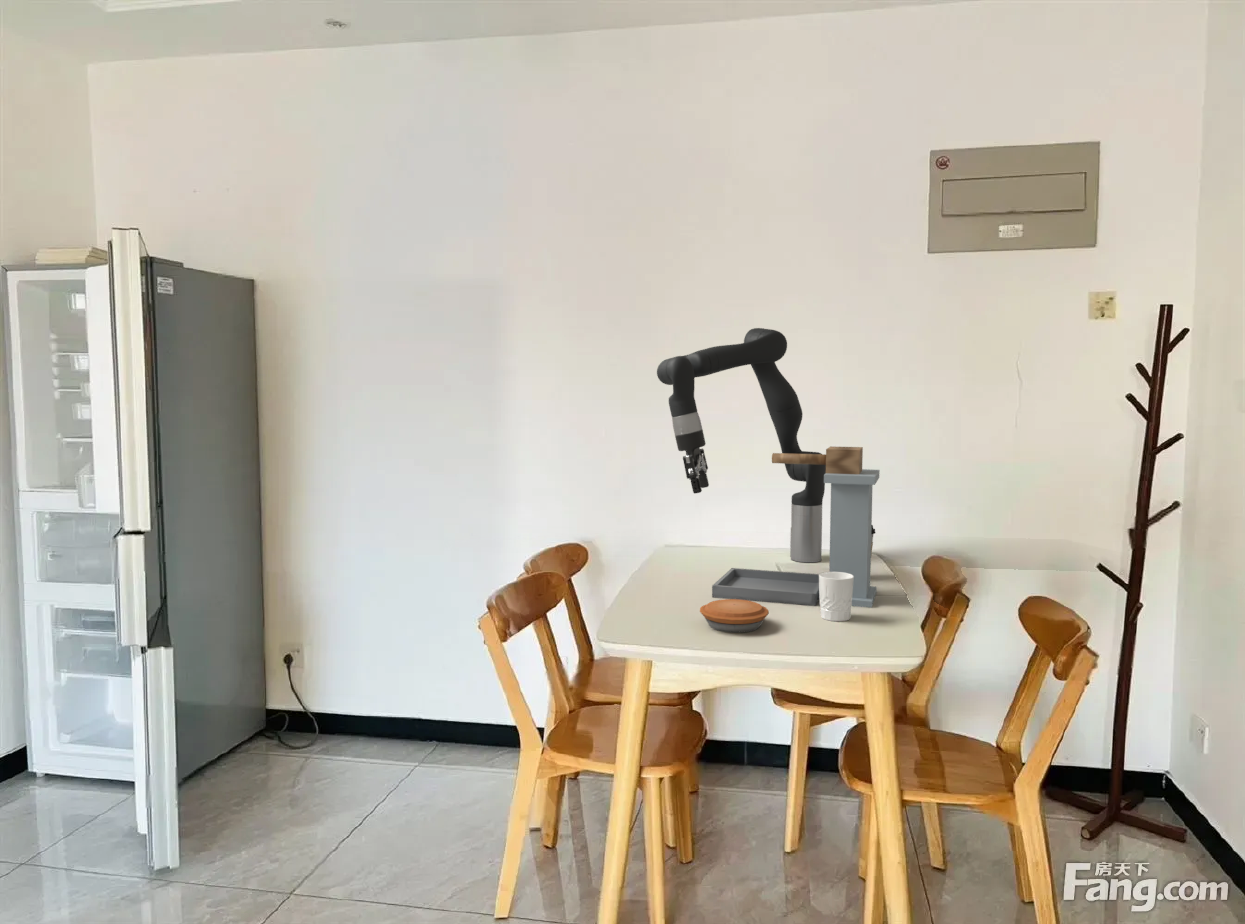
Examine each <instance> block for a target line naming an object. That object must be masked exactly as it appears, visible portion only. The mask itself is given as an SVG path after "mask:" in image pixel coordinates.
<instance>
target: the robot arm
mask: <svg viewBox="0 0 1245 924" xmlns="http://www.w3.org/2000/svg"><path fill="white" fill-rule="evenodd" d="M787 349H788V340H787V338H786V336H785V335H784V334H783V333H782V332H780V331H778V330H776V329H770V328H762V327H753V328H751V329H749V330H748V331H747V333H746V334H745V336H744V339H743V342H742V343H735V344H725V345H724V344H723V345H716V346H711V347H707V348H704V349H700V350H697V351H694V352H691V353H688V354H686V355H677V356H673V357H670V358H667V359H664V360H663V361H661V362H660V363H659V364H658V366H657V369H656V376H657V378H658V381H660V382H661V383H662V384H664V385H666V386H667V385H668V386H672V391H673V392H672V394H671V395H670V396H669V397H668V406H669V411H670V415H671V418H672V420H671V421H672V428H673V433H674V438H675V442H676V446H677V450H678V451H679V452H685V455H683V456H682V460H683V466H684V471H685V476H686V479H687V480H688V479H689V480H690V483H691V489H692V493H693V494H700V493H701V492H702V491H703V490H702V489H704V488H708V487H709V485H710V484H709V479H708V475H707V473H708V469H709V466H708V462H707V458H706V454H705V449H704V448H702V447H705V446H706V440H705V434H704V430H703V429H704V428H703V425H702V422H701V421H702V420H701V418H700V416H699V415H700V414H699V412H698V408H697V403H696V400H695V378H701V377H706V376H710V375H712V374H716V373H720V372H723V371H726V370H731V369H735V368H739V367H743V366H744V367H745V366H748V365H750V366H751V369H752V370H753V372H754V375H755V376H756V379H757V381H758V384H759V387H760V390H761V393H762V395H763V397H764V400H765V403H766V408H767V410H768V411H767V412H768V413H769V416H770V419H771V421H772V424H773V427H774V429H775V432H776V436H777V439H778V442H779V445H780V450H781V453H788V454H822V453H821V452H818V451H804V450H802V449H801V447H800V444H799V442H798V441H799V440H798V433H799V430H800V427H801V424H802V420H803V409H802V406H801V403H800V399H799V398H798V394H797V392H796V391H795V389H794V388H793V386H792V385H791V384H790V382H789V381H788V379H786V377H784V375H783V374H782V373H781V371H780V369H779V368H778V366H777V364H776V362H778V361H779V360H781V359H782V358H783V357H784V356H785V354H786V353H787ZM784 467H785V471H786V473H787V474H788V477H789V478H790V479H791V480H793V481H798V482H805V486H804V489H803V490H801V491H799V492H795V493H793V494H792V495H791V511H790V513H791V518H790V519H791V520H790V521H791V523H790V544H789V545H790V547H789V548H790V551H789V552H790V553H789V554H790V559H791V561H794V562H797V563H798V562H799V563H816V562H817V563H818V562H820V561H822V551H823V549H822V548H823V547H822V545H823V542H822V541H823V499H824V496H825V495H824V494H825V487H826V483H824V474H826V465H817V464H784Z"/></svg>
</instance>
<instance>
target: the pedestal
mask: <svg viewBox="0 0 1245 924" xmlns="http://www.w3.org/2000/svg"><path fill="white" fill-rule="evenodd" d="M879 479H880V469H869V468H868V469H866V468H865V469H864V468H862V472H861V473H860V474H830V473H826V474H824V483H825V484H830V512H829V513H830V514H829V515H830V516H829V517H830V518H829V521H830V522H829V524H830V526H829V528H830V529H829V568H828V569H829V571H828V572H843V573H848V574H851V575H853V576H854V581H853V596H852V606H851V607H861V608H862V607H863V608H873V606H874V602H875V599H876V596H877V593H878V592H877V591H878V590H877V589H878V586H873V585H871V570H872V569H871V568H872V567H871V565H872V564H871V563H872V554H871V529H872V525H873V524H872V523H873V522H872V521H873V520H872V519H873V518H872V517H873V486H874V485H876V483H877V482H878V481H879ZM875 595H876V596H875Z"/></svg>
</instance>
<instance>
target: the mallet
mask: <svg viewBox="0 0 1245 924" xmlns="http://www.w3.org/2000/svg"><path fill="white" fill-rule="evenodd" d="M863 450H864V449H863V447H862V446H829V447H828V448H826V449H825V454H823V453H821V454H788V453H782V452H779V453H778V452H772V453H771V454H772V455H771V462H772V464H783V465H785V464H817V465H826V473H830V474H860V473H861V472H862V469H863V457H864V455H863Z"/></svg>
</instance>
